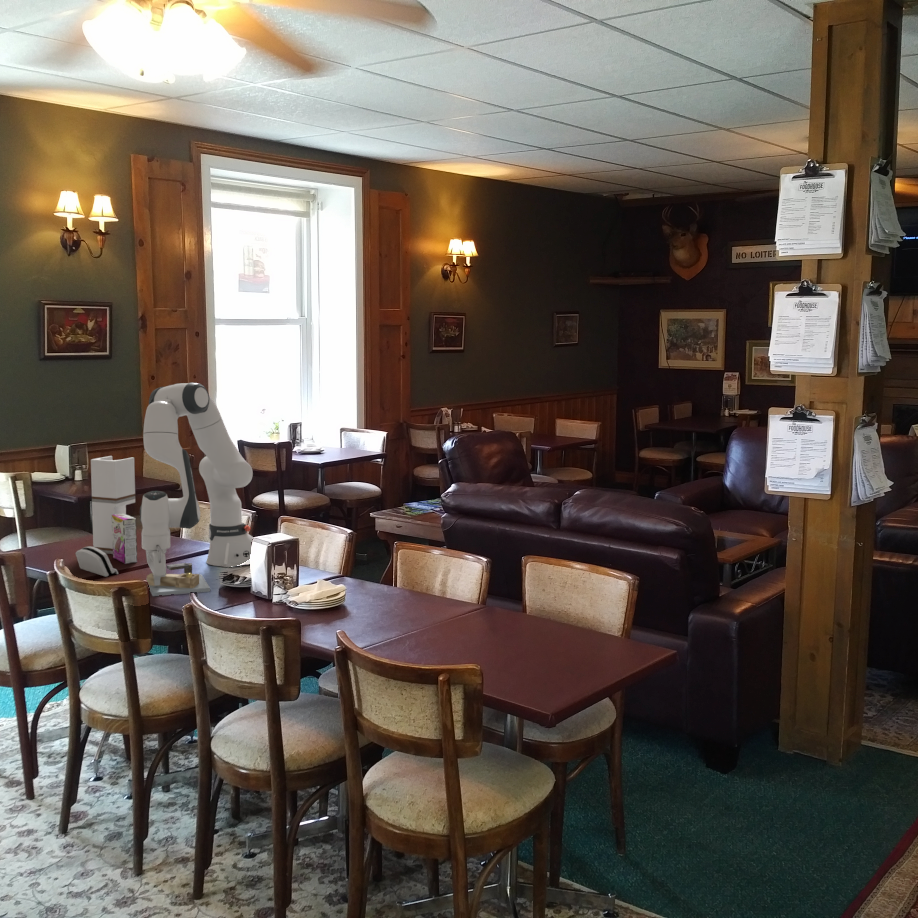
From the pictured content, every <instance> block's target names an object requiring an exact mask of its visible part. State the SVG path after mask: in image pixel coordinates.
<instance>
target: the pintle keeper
mask: <svg viewBox="0 0 918 918" xmlns="http://www.w3.org/2000/svg"><path fill="white" fill-rule="evenodd" d="M182 569H183V573H185V574H186V577H192V574H193V564H192V562H183V563H182V562H181V563H173V564H172V563H171V564H166V570H168V571H176V570H182Z"/></svg>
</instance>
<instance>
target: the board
mask: <svg viewBox="0 0 918 918" xmlns="http://www.w3.org/2000/svg"><path fill="white" fill-rule="evenodd" d="M145 580H147V578H146V579H145ZM149 587H150V590H149V591H150V595H151V597H160V596H159V595H162V596H171V594H174V595H184V594H185V595H186V594H191V593H190V592H197V594H198V593H207V592H208V593H209V592H211V587H210V585H209V584H208V582H207V580H206V579H205V577H204V575H202V574H199V584H198V585H197V586H195V587H194V588H177V587H176V586H153V585H149ZM149 587H148V588H149Z"/></svg>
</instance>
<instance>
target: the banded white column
mask: <svg viewBox="0 0 918 918" xmlns="http://www.w3.org/2000/svg"><path fill="white" fill-rule="evenodd" d="M135 475H136V474H135V457H128V458H123V459H114V460H113V456H112V455H108V456H103V457H96V458H92V459H90V476H91V478H90V479H91V482H90V483H91V510H92V511H91V512H92V545H93V546H92V547H95V548H97V549H99V550H101V551H103V552H104V553H106V554H107V555H108V554H109V555H110V554H111V555H113V540H112V515H113V514H121V513H124V514H127V505H131V504H135V503H136V479H135V478H136V477H135Z"/></svg>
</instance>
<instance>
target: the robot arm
mask: <svg viewBox="0 0 918 918" xmlns="http://www.w3.org/2000/svg"><path fill="white" fill-rule="evenodd" d="M184 416H186V417H187V419H188V424H189V426H190V429H191V431H192V433H193V435H194V436H193V437H194V438H195V441H196V444H197V446H198V448H199V449H200V451H202V452H203V454H204V455H205V456H204V457H203V458H202V459H201V460H200V461H199V466H198V471H199V474H200V476H201V478H202V479H203V481H204V485H205V487H206V491H207V492H206V493H207V496H208V500H209V513H210V514H209V515H210V517H209V519H210V523H209V526H208V538H209V549H208V554H207V558H206V561H205V563H206V564H208V565H210V566H215V567H225V568H229V567H231V566H237V565H240V564H242V563H244V562H246V561H247V560H249V559H250V554H251V542H252V539H253V538H254V537H253V535H252V534H249V533H248V532H250V531H251V526H250V525H247V524H245V523H243V522H242V521H243V520H242V519H243V512H242V509H243V507H242V504H243V503H242V501H241V498H240V497H239V495H238V493H237V490H236V489H240V488H244V487H246V486H248V485H249V484H250V483H251V481H252V479H253V475H254V473H253V471H254V470H253V468H252V465H250V463H249V462H247V460H245V458H244V457H243V456H242V454H241V453H240V451H239V450H238V448H237V447H236V445H235V444H234V442H233V440H232V439H231V437H230V434H229V432H228V430H227V427H226V425H225V423H224V420H223V418H222V416H221V413H220V411H219V408H218V407H217V404H216V403H215V401H214V400H213V398H212V397H211V395H210V394H209V392H208V389H206V387H205V386H204V385H203V384H201V383H197V382H187V383H186V382H185V383H184V382H183V383H181V382H180V383H174V384H169V385H167V386H160V387H157V388H155V389H154V390H152V391H151V393H150V395H149V399H148V406H147V407H146V410H145V416H144V421H143V422H144V423H143V435H142V436H143V437H142V439H143V448H144V451H145V452H146V453H147V455H148V456H149V457H150V458H152V459H154V460H155V461H158V462H160V463H163V464H166V465H169V466H171V467H172V468H175V469H176V470H177V472H178V474H179V477H180V485H181V489H182V497H179V498H174V497H173V498H171V497H170V498H169V497H168V493H166V492H165V491H161V490H151V491H148V492H146V493H144V494H143V495H142V500H141V505H140V507H139V521H140V522H141V525H142V529H141V548H142V549H143V550H145V556H146V562H147V564H148V567H149V569H150V571H151V572H152V573H153V582H154V585H160V578H161V577H165V576H166V574H167V563H166V562H167V561H166V559H167V558H166V553H167V550H168V549H170V548H171V530H170V528H179V529H188V530H189V529H192V528H193V527H195V526H196V525H197V524H199V522H200V520H201V508H200V504H199V501H198V497H197V493H196V488H195V487H196V486H195V480H194V474H193V469H192V465H191V460H190V459H191V458H190V455H189V453H188V451H187V450H186V449H184V448H183V447H182V446H181V444H180V440H179V425H178V424H179V423H178V419H179V418H180V417H184Z"/></svg>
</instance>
